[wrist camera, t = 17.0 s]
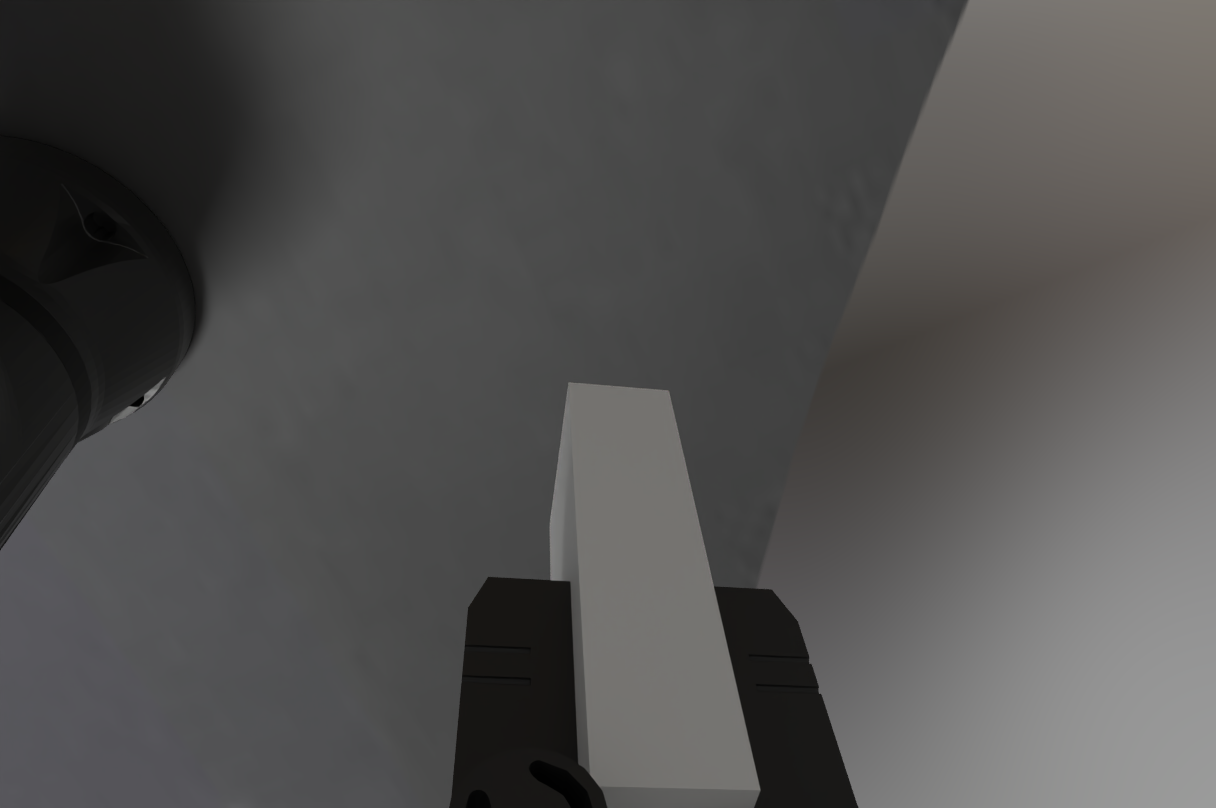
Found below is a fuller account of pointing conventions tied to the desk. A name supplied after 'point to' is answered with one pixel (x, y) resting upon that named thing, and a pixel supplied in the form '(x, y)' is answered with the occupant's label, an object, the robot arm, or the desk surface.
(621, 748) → the robot arm
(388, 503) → the desk surface
